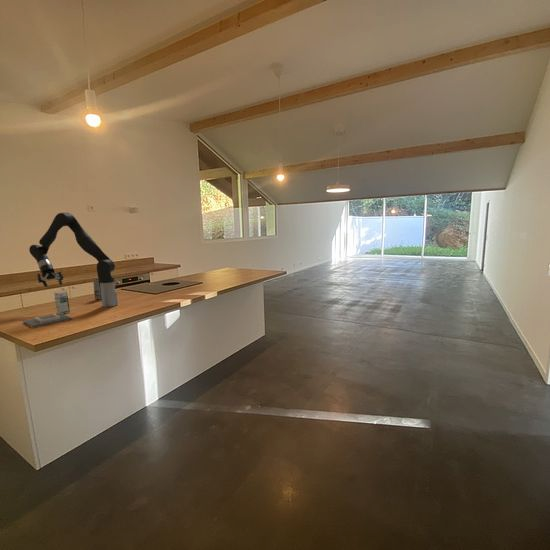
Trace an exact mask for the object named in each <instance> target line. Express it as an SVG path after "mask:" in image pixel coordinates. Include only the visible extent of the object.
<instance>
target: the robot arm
mask: <svg viewBox="0 0 550 550" xmlns="http://www.w3.org/2000/svg"><path fill="white" fill-rule="evenodd" d="M64 227H68V228H69V229H70V230H71V231H72V232H73V235H74V237H75V241H76V243H77V244H78V246H79V247H80V248H81V249H82V250H83V252H86V253H87V254H88V255H90V256H92V257H93V258H94V259H96V261H97V264H96V272H97V279H99V280H100V288H101V297H102V300H101V305H102V307H103V308H109V307H115V306H118V305H119V302H118V293H117V291H116V284H115V277H113V276H112V273H111V272H114V271H115V268H116V265H115V262H114V261H113V260H112V259H111V258H110V257H109V256H108V255H107V254H106V253H105V252H104V251H103V250H102V249H101V248H100V246H99V245H98V244H97V243H96V241H94V240H93V239H92V237H91V236H90V235H89V234H88V232H87V231H86V230H85V229H84V228H83V227H82V225H81V224H80V222H79V221H78V219H76V217H75V216H74V214H72V213H70V212H59V213H57V214H56V215H55V217H54V219H53V220H52V222H51V223H50V225H49V227H48V229H47V230H46V231H45V233H44V235H42V237H41V238H40V239H39V241H38V243H39V245H38V244H32V245H30V247H29V249H28V250H29V253H30V255H31V256H32V258H34V259H35V260H36V262H37V265H38V269H39V270H40V273H41V274H40V273H37V275H36V277H37V281H38V283H39V284H40V283H42V285H43V287H45V288H47V287H48V284H47V280H48V281H49V280H55V281H58V284H59V286H62V284H63V280H64V274H63V273H62V272H61V271H58V272H56V271H55V269H54V266H53V265H52V263H51V260H50V258H49V257H48V255H47V254H48V252H49V249H50V246H51V245H53V243H54V241H55V240H56V239H57V235H58V232H59V231H60V230H61V229H62V228H64ZM42 278H43V279H42Z"/></svg>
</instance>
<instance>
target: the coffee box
mask: <svg viewBox="0 0 550 550" xmlns="http://www.w3.org/2000/svg"><path fill="white" fill-rule="evenodd" d="M92 280H93V281H92V282H93V292H94V293H93V295H94V300H95V299H99V300H98V301H102V297H101V288H100V280H99V279H98V278H95V279H92Z"/></svg>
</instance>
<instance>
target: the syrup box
mask: <svg viewBox="0 0 550 550" xmlns="http://www.w3.org/2000/svg"><path fill="white" fill-rule="evenodd" d="M53 295H54V302H55V303H54V304H55V308H56V310H55V311H56V314H57V313H59V314H63V315H65V314H70V313H71V309H70V304H69V301H70V300H69V294H68V291H66V290H62V291H61V290H60V291H57V292H54V293H53ZM69 312H70V313H69ZM64 313H65V314H64Z"/></svg>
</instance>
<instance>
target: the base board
mask: <svg viewBox="0 0 550 550" xmlns="http://www.w3.org/2000/svg"><path fill="white" fill-rule="evenodd" d="M70 319H72V320H73V318H72V317H71V316H69V315H66V314H57V313H52V314H45V315H40V316H35V317H34V318H31V319H26V320H25V319H24V320H22V321H23V322H24V323H23V322H22V323H23V324H25V323H26V324H25V325H27V324H28V325H27V326H29V325H30V326H32V327H35V328H38V327H37V326H40V327H43V326H42V325H44V326H48V325H47V324H49V325H52V324H51V323H54V324H57V323H56V322H58V323H61V322H60V321H63V322H66V321H65V320H68V321H71V320H70ZM30 326H29V327H30ZM32 327H31V328H32Z"/></svg>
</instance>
